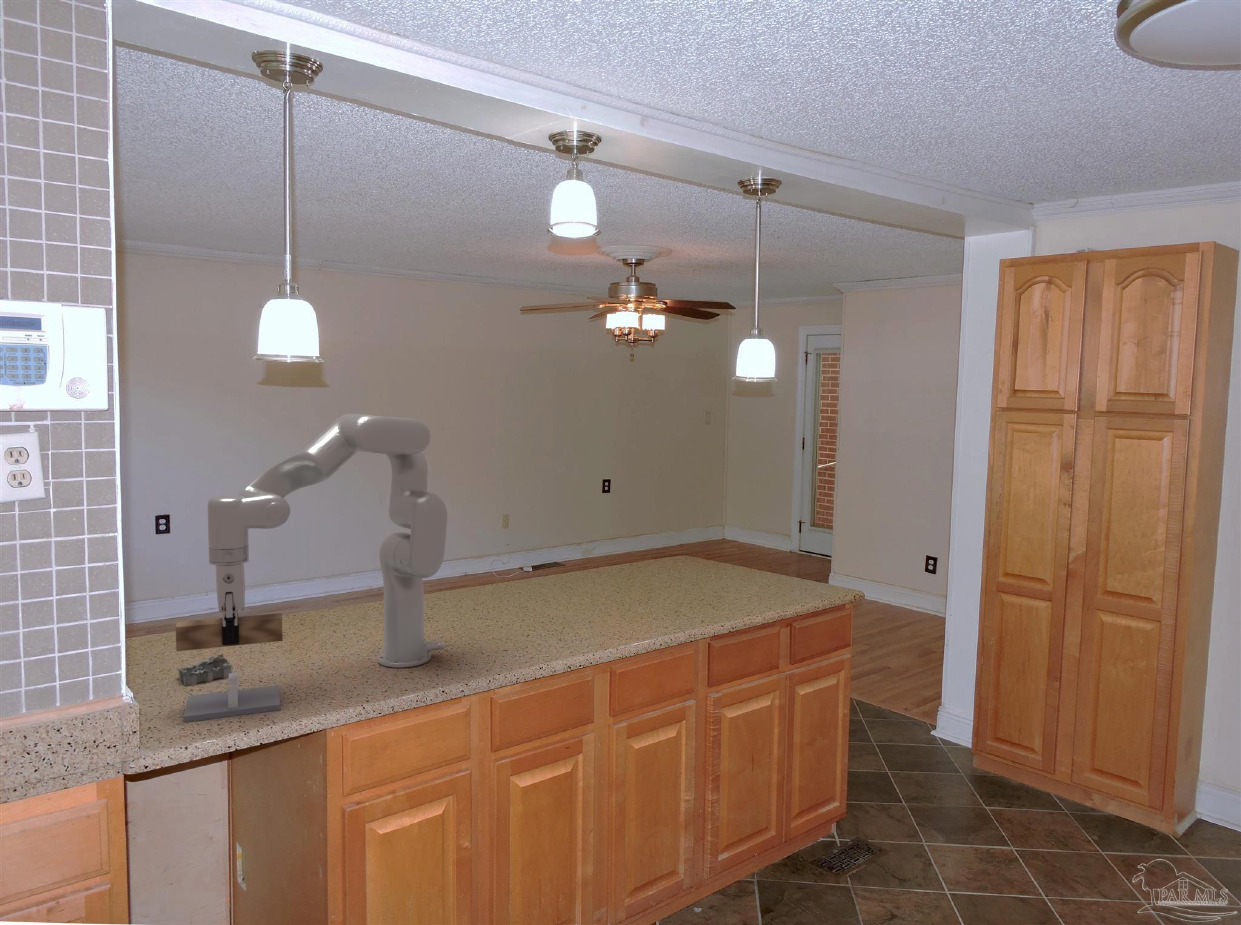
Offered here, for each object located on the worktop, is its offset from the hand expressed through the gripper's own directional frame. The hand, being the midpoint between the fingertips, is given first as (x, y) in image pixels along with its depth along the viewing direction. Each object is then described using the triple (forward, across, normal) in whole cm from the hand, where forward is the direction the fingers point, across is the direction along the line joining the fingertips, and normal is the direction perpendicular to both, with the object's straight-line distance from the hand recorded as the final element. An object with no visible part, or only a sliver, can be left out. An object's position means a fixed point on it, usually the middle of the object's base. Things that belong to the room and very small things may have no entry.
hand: (231, 640), depth 177 cm
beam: (+1, 0, 0) cm, 1 cm away
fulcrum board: (+14, 0, 0) cm, 14 cm away
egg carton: (+15, +21, +6) cm, 26 cm away
